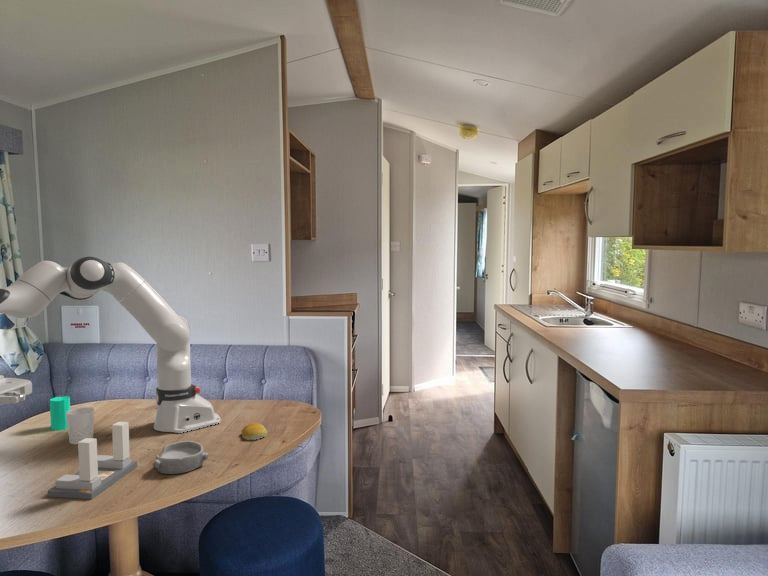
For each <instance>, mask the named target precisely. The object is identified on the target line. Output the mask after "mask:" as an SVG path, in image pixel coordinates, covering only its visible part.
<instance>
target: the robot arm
mask: <svg viewBox="0 0 768 576" xmlns="http://www.w3.org/2000/svg"><path fill="white" fill-rule="evenodd" d="M99 291H103V292H107V293H108V294H110V295H111V296H112V297H113V298H114V299H115V300H116V301H117V302H118V303H119V304H120V305H121V306H122V307H123V308H124V309H125V310H126V311H127V312H128V313H129V314H130V315H131V316H132V317H133V318H134V319H135V320H136V321H137V322H138V323H139V324H140V326H141V327H142V328H143V330H144V331H145V332H146V333H147V334H148V335H149V336H150V337H151V338H152V340H154V342H155V343H156V352H157V353H156V376H157V377H156V378H157V379H156V380H157V386H156V391H155V399H156V400H155V402H156V414H155V420H154V423H153V429H154V430H155V431H158V432H161V433H163V432H164V433H175V434H183V432H184V433H187V431H188V432H191V430H192V431H196V430H199V428H200V429H203V427H204V428H207V426H208V427H211V426H210V425H212V426H215V424H216V425H219V424H220V423H221V422H222V418H221V416H220V414H218V413H216V412H215V410H214V407H213V404H212V403H211V402H210V401H209V400H207V399H206V398H204V397H202V396H201V395H199V394H200V392H201V388H200V387H199V386H198V385H195V384H193V383H192V371H191V370H192V369H191V368H192V367H191V329H190V323H189V322H188V321H187V319H186V318H185V317H183V316H181V315H179V314H177V313H176V312H175V311H174V309H173V308H172V307H171V306H170V305H169V304H168V302H167V301H166V300H165V299H164V298H163V297H162V296H161V295H160V294H159V293H158V292H157V291H156V290H155V289H154V287H153V286H151V285H150V284H149V282H148V281H147V280H146V279H145V278H143V276H141V274H140V273H138V272H137V271H136V270H134V268H132V267H130V266H129V265H128V264H127V263H125V262H120V261H119V262H113V263H109V262H106V261H104V260H102V259H100V258H97V257H94V256H84V257H81V258H79V259H76V261H74V262H73V263H72V264H71V265H70V266H69V267H66V266H62V265H60V264H58V263H57V262H56V261H51V260H41V261H39V262H37V263H36V264H35V265H33V266H32V267H30V268H29V269H28V270H26V271H25V272H23V274H22V275H20V276H19V277H18V278H17V279H16V280H15V281H14V282H13V283H12V284H10V285H9V286H7V287H4V288H0V314H4V315H7V316H9V317H13V318H17V319H31V318H35V317H36V316H39V315H40V314H41V313H42V312H43V311H44V310H46V308H47V307H48V306H49V305H50V304H51V303H52V302H53V300H55V298H56V297H57V296H58V295H62V296H64V297H68V298H70V299H73V300H77V301H83V300H87V299H90V298H92V297H93V296H94V295H95V294H97V293H98V292H99ZM32 393H33V382H32V381H31V380H29V379H24V378H17V377H5V376H4V375H3V374H0V406H2V405H10V404H14V405H16V404H19V403H20V402H24V401H25V400H26V396H29V395H31V394H32ZM218 423H219V424H218Z"/></svg>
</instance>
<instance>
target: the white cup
mask: <svg viewBox="0 0 768 576" xmlns="http://www.w3.org/2000/svg"><path fill="white" fill-rule="evenodd" d="M66 417H67V433H68V442H69V444H70V445H78V442H80V441H81V440H83V439H85V438H94V431H95V428H94V427H95V409H94V408H93V407H89V406H88V407H87V406H86V407H85V406H84V407H78V408H77V407H76V408H73V409H70V410H69V411H67V412H66Z"/></svg>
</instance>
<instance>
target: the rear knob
mask: <svg viewBox="0 0 768 576" xmlns="http://www.w3.org/2000/svg"><path fill="white" fill-rule="evenodd" d="M129 427H130V424H129V421H117V422H115V423H114V424H111V428H112V431H111V433H112V456H113V460H125V459H126V458H128V457H131V455H130V454H131V453H130V428H129Z"/></svg>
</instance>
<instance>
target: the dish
mask: <svg viewBox="0 0 768 576" xmlns="http://www.w3.org/2000/svg"><path fill="white" fill-rule="evenodd" d="M208 459H209V453H208V452H205V450H204V447H203V444H201V443H199V442H196V441H192V440H184V441H183V440H182V441H176V442H172V443H169V444H165V445H164V446H163V448H162V451H161V454H160V456H159V455H158V454H156V455H155V460H154V463H153V464H154V467H155V468H156V470H157V472H158V473H161V474H166V475H175V474H176V475H177V474H178V475H179V474H184V473H188V472H191V471H193V470H195V469H198V468H200V467H201V466H202V465H203V464H204V461H207V460H208Z"/></svg>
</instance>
